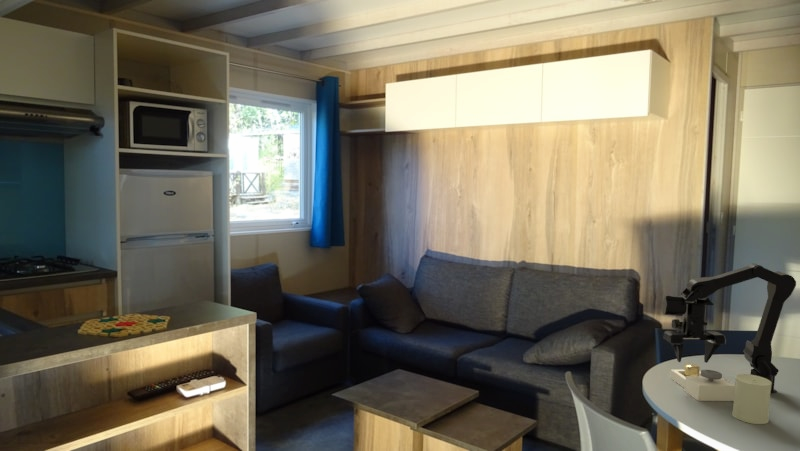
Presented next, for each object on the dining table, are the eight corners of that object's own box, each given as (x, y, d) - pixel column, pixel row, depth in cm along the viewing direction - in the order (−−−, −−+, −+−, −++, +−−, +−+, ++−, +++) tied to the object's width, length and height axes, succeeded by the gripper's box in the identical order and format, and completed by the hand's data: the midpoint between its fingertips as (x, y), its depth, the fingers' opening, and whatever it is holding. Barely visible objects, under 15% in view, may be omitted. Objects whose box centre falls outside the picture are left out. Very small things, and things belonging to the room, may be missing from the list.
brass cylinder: (701, 385, 196) (702, 368, 196) (688, 385, 196) (689, 368, 196) (694, 380, 201) (695, 363, 200) (681, 380, 201) (682, 363, 200)
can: (734, 420, 169) (737, 380, 168) (730, 408, 178) (733, 370, 176) (771, 426, 166) (775, 385, 165) (765, 414, 174) (768, 375, 173)
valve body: (700, 378, 204) (702, 356, 203) (735, 401, 184) (737, 377, 183) (666, 377, 203) (668, 356, 202) (697, 400, 183) (699, 377, 183)
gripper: (709, 311, 205) (706, 354, 206) (657, 310, 204) (654, 354, 205) (728, 319, 193) (724, 365, 195) (673, 319, 193) (669, 365, 194)
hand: (692, 362), depth 198 cm, fingers open, 9 cm apart
